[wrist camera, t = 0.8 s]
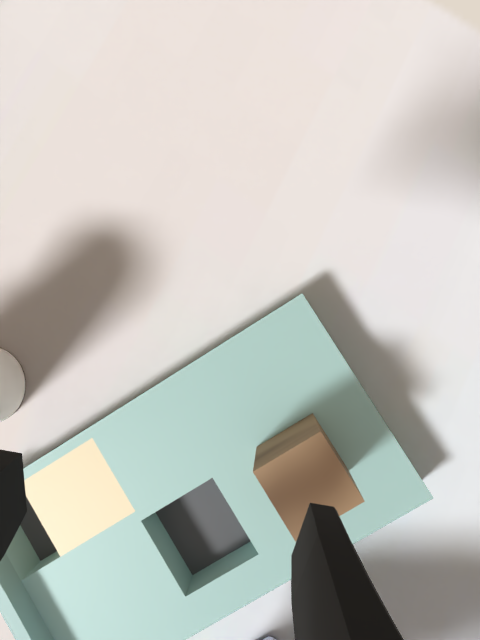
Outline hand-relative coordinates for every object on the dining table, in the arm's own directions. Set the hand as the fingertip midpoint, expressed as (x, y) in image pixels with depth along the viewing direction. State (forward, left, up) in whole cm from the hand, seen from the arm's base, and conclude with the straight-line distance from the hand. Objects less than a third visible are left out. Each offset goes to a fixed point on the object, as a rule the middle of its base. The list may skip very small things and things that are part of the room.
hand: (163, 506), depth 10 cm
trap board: (-5, +7, -19) cm, 21 cm away
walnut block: (-6, -2, -17) cm, 18 cm away
